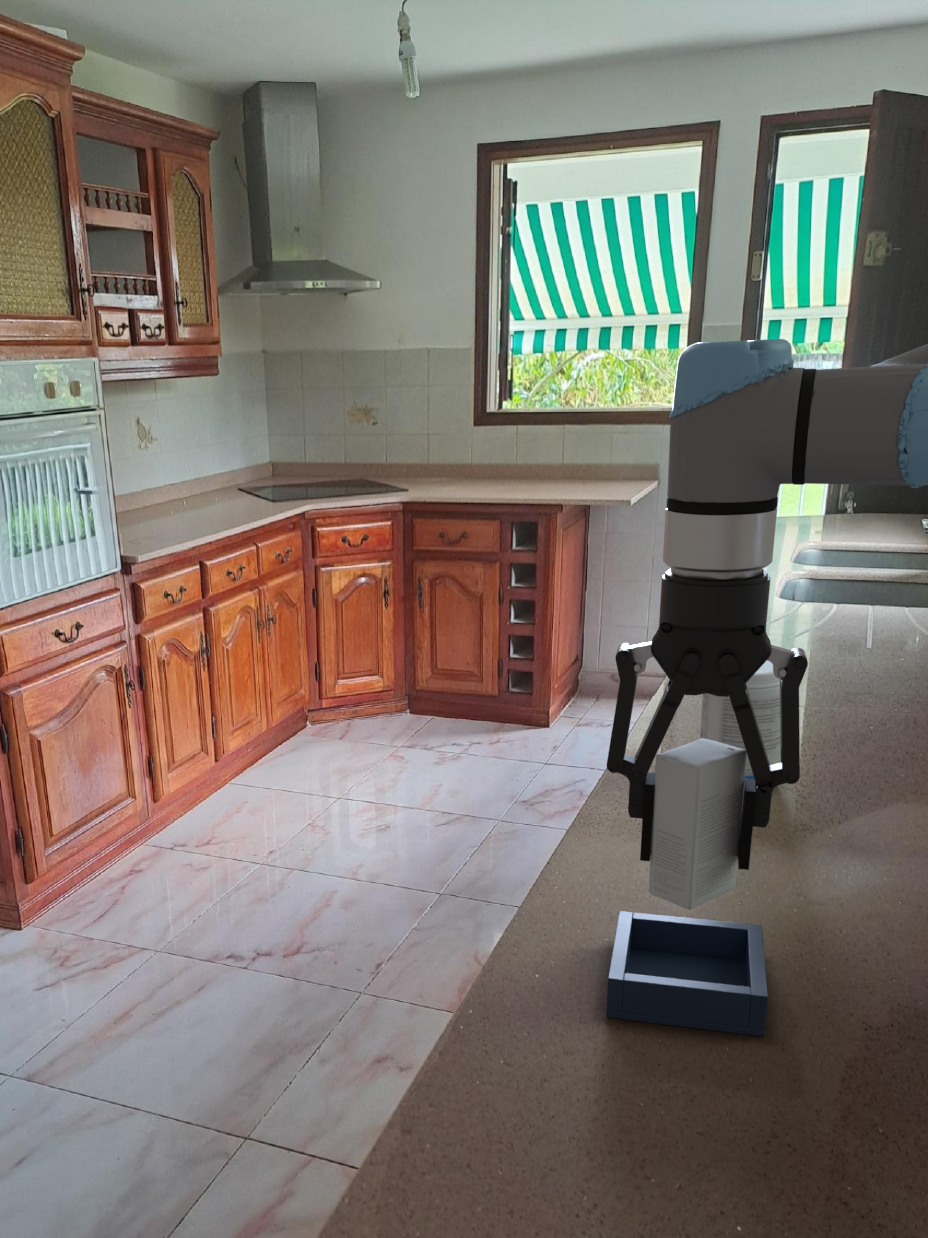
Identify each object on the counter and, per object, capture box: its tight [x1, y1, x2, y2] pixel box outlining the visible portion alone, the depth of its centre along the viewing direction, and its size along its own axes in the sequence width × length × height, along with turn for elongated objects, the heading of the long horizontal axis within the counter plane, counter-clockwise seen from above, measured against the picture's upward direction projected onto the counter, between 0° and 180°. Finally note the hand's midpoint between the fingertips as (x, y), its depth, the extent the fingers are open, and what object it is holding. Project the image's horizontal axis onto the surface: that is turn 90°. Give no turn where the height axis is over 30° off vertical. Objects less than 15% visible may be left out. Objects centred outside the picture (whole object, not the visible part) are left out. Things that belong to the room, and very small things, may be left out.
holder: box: [605, 910, 769, 1038], centre depth 92 cm, size 12×12×4 cm
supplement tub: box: [699, 660, 781, 793], centre depth 134 cm, size 10×10×15 cm
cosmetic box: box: [648, 738, 747, 911], centre depth 88 cm, size 6×4×12 cm
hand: (693, 857), depth 89 cm, fingers closed on cosmetic box, 7 cm apart
